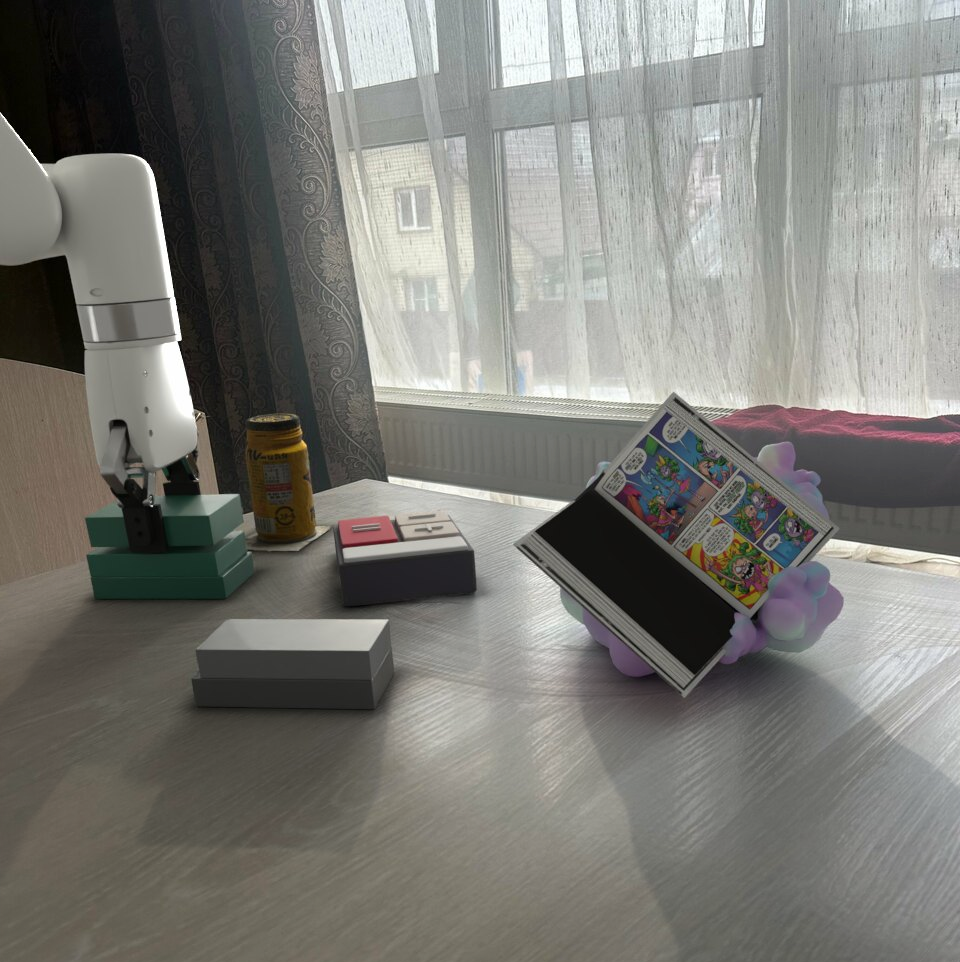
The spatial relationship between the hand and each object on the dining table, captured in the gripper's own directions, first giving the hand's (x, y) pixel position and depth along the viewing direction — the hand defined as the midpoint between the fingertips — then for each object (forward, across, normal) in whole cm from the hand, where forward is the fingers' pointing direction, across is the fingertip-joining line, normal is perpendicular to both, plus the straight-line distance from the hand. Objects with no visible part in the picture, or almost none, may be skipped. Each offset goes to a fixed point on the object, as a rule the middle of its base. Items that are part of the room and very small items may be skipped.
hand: (169, 536), depth 87 cm
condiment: (+5, -14, +5) cm, 15 cm away
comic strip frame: (+5, +13, +44) cm, 46 cm away
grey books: (+4, +21, +18) cm, 28 cm away
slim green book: (0, 0, 0) cm, 0 cm away
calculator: (+5, -3, +20) cm, 20 cm away
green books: (+4, 0, 0) cm, 4 cm away
